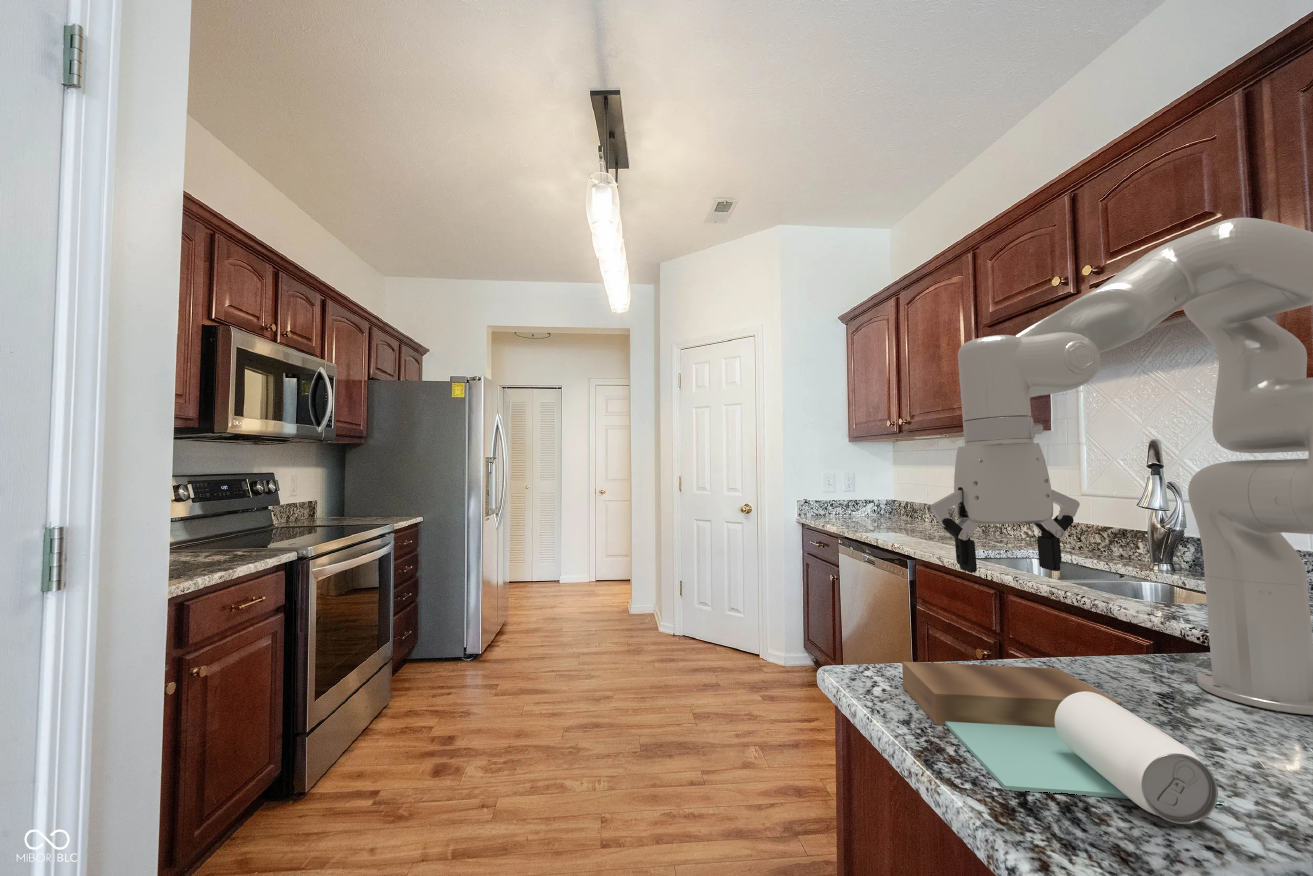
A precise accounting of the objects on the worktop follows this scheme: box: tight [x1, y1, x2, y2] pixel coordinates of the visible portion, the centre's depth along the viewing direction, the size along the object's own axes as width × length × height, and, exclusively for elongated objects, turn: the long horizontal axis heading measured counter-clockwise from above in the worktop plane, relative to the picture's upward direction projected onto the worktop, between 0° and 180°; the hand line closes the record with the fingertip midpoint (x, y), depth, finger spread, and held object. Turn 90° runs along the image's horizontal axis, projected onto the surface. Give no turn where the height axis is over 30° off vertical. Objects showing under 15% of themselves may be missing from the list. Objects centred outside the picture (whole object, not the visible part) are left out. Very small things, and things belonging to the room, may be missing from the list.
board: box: [901, 661, 1122, 728], centre depth 69 cm, size 20×12×4 cm, turn 83°
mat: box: [944, 721, 1226, 805], centre depth 56 cm, size 18×14×1 cm
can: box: [1055, 692, 1219, 825], centre depth 51 cm, size 6×6×12 cm
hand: (1008, 570), depth 69 cm, fingers open, 9 cm apart
